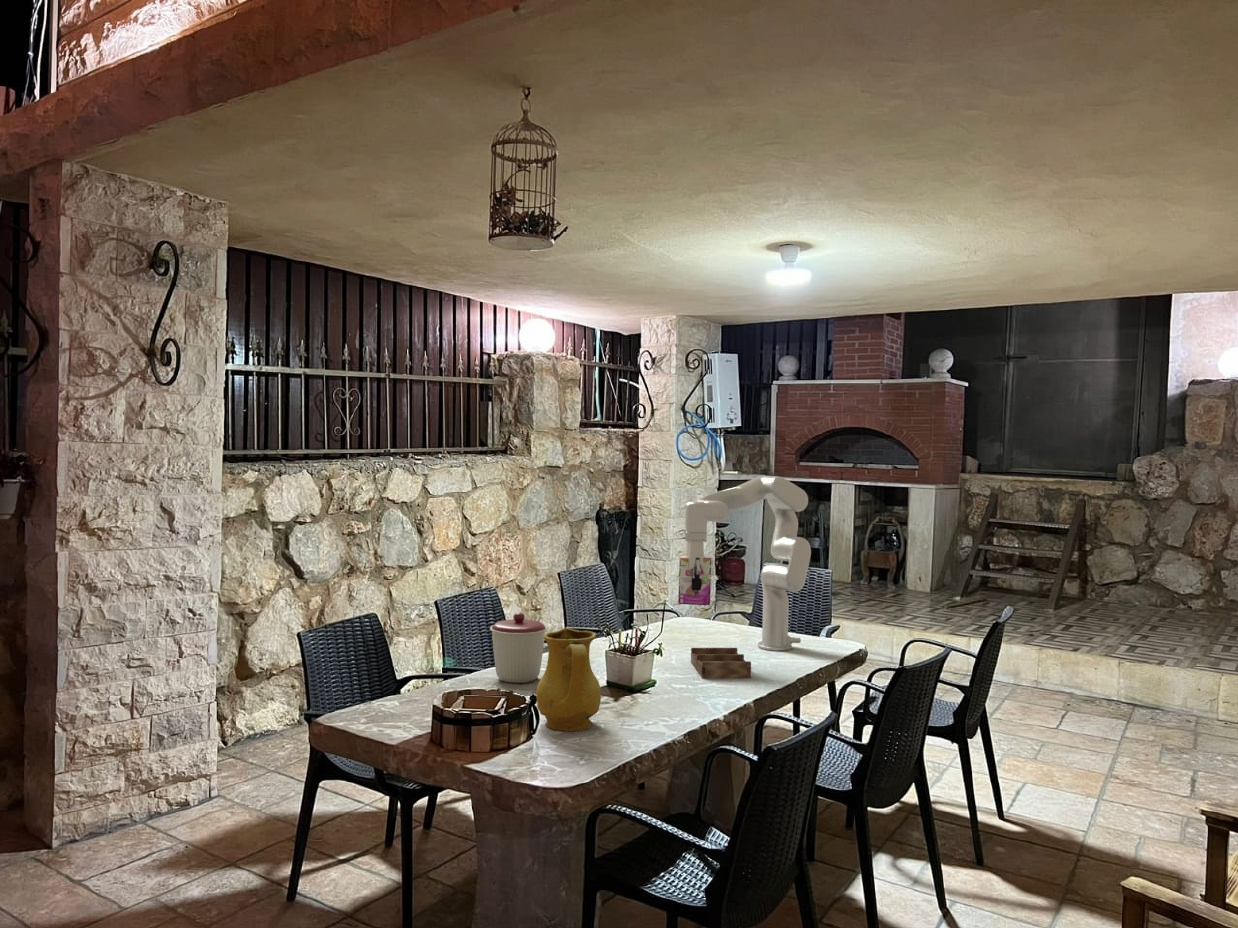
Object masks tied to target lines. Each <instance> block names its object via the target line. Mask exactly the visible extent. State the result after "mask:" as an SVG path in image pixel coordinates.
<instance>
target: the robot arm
mask: <svg viewBox="0 0 1238 928" xmlns="http://www.w3.org/2000/svg"><path fill="white" fill-rule="evenodd" d="M766 499H767V503H768V505H769V507H770V509H771V510H772V512H773V515H774V517H775V518H774V519H775V524H774V530H773V534H772V535H773V536H772V539H771V546H770V554H771V556H772V557H773V559H775V560H779V561H782V562H783V561H785V562H788V564H784V563H777V562H770V563H767V564H765V565H764V566H763V568H762V569H761V572H760V581H761V586H762V626H761V627H762V630H761V632H762V633H761V636H762V638H761V641H759V642H758V643H757V647H758V648H760V649H763V650H767V651H776V652H777V651H778V652H779V651H781V652H783V651H789V650H791V649H793V645H792V644H801V639H802V638H800V637H794V636H790V635H789V607H790V606H789V605H790V604H789V602H790V601H789V596H788V593H787V592H791V593H797V592H799V591H801V590H802V589H803V587H804V586H805V583H806V579H807V575H808V570H809V566H810V562H811V555H812V548H811V544H810V542H809V541H808V540H807V539H806V538H804V537H801V536H798V535H797V534H798V531H799V529H798V528H799V520H798V516H797V514H796V513H797V512H803V511H804V510H805V509H806V508H807V507H808V504H809V496H808V494H807V493H806V491H805V490H804V489H802V488H801V487H799V486H798V485H797V484H795V483H793V482H791V481H789V480H788V479H786V478H784V477H782V476H777V475H759V476H757V477H754V478H752V479H749V480H747V481H746V482H744V483H741V484H739V485H737V486H735V487H731V488H726V489H723V490H719V491H716V492H713V493H708V495H705V496H703V497H701V498H699V499H697V500H696V501H695V500H694V501H692V500H691V501H688V502H686V504H685V518H684V519H685V525H684V527H685V529H684V530H685V531H684V541H685V542H687V544H686V553H685V554H686V555H685V556H687V557H688V569H689V570H691V569H692V571H693V579H692V590H701V570H702V569H703V560H704V557H705V556H704V549H705V548H704V543H707V542H708V541H707V539H708V536H707V535H708V534H707V533H708V532H707V531H708V526H707V525H708V523H709V522H712V523H722V522H724V521H726V520H727V519H728V517H729V515H730V511H739V510H744V509H748V508H749V507H751V506H753V505H755V504H757V503H759V502H761V501H763V500H766ZM701 566H702V568H701ZM694 568H696V569H694Z"/></svg>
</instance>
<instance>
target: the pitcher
mask: <svg viewBox="0 0 1238 928" xmlns="http://www.w3.org/2000/svg"><path fill="white" fill-rule="evenodd" d="M594 639H596V633H595V632H593V631H590V630H577V629H573V628H568V627H566V628H560V629H559V630H557V631H550V632H549V631H548V632H547V633H546V632H545V635H544V641H545V642H546V643H547V644H546V645H547V646H548V656H547V664H546V667H545V668H546V669H545V671H544V673H543V675H542V676H541V678H540V680H538V683H537V686H536V691H535V692H536V694H535V695H536V696H535V697H536V703H537V704H536V705H537V706H536V707H537V710H538V711H539V713H540V715H541V716H543V717H545V719H546V722H545V725H544V726H545V727H546V728H548V729H551V730H555V731H562V732H563V731H564V732H573V731H575V732H576V731H577V732H578V731H580V732H581V731H583V730H586V729H590V728H591V727H592V726H593V722H592V721H591V719H590V718H592V717H593V716H594V715H596V714H597V713H599V709H600V707H601V706H600V705H601V700H602V698H601V696H602V695H601V685H600V683H599V680H598V678H597V676H596V675H595V674H594V671H593V669H592V667H591V663H590V651H591V650H590V647H591V644H592V642H593V640H594Z"/></svg>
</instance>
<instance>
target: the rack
mask: <svg viewBox="0 0 1238 928" xmlns="http://www.w3.org/2000/svg"><path fill="white" fill-rule="evenodd" d="M690 664H691V665H692V666H693V668H694V669H695V670H696V673H698V675H699V676H700V677H701V679H752V662H751V660H750V661H746V660H745V654H743V653H742V654H741V653H740V654H739V653H738V647H691V648H690Z"/></svg>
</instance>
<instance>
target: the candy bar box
mask: <svg viewBox="0 0 1238 928" xmlns="http://www.w3.org/2000/svg"><path fill="white" fill-rule="evenodd" d="M701 568H702V566H701ZM678 569H679V571H678V574H679V575H678V601H677V603H678V605H692V606H711V605H710V604H711V588H712V557H709V556H708V557H707V556H704V560H703V569H702V570H701V590H692V579H693V571H692V569H691V570H689V569H688V557H687V556H686V555H685V556H684V555H680V556H679V568H678ZM694 569H696V568H694Z"/></svg>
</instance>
